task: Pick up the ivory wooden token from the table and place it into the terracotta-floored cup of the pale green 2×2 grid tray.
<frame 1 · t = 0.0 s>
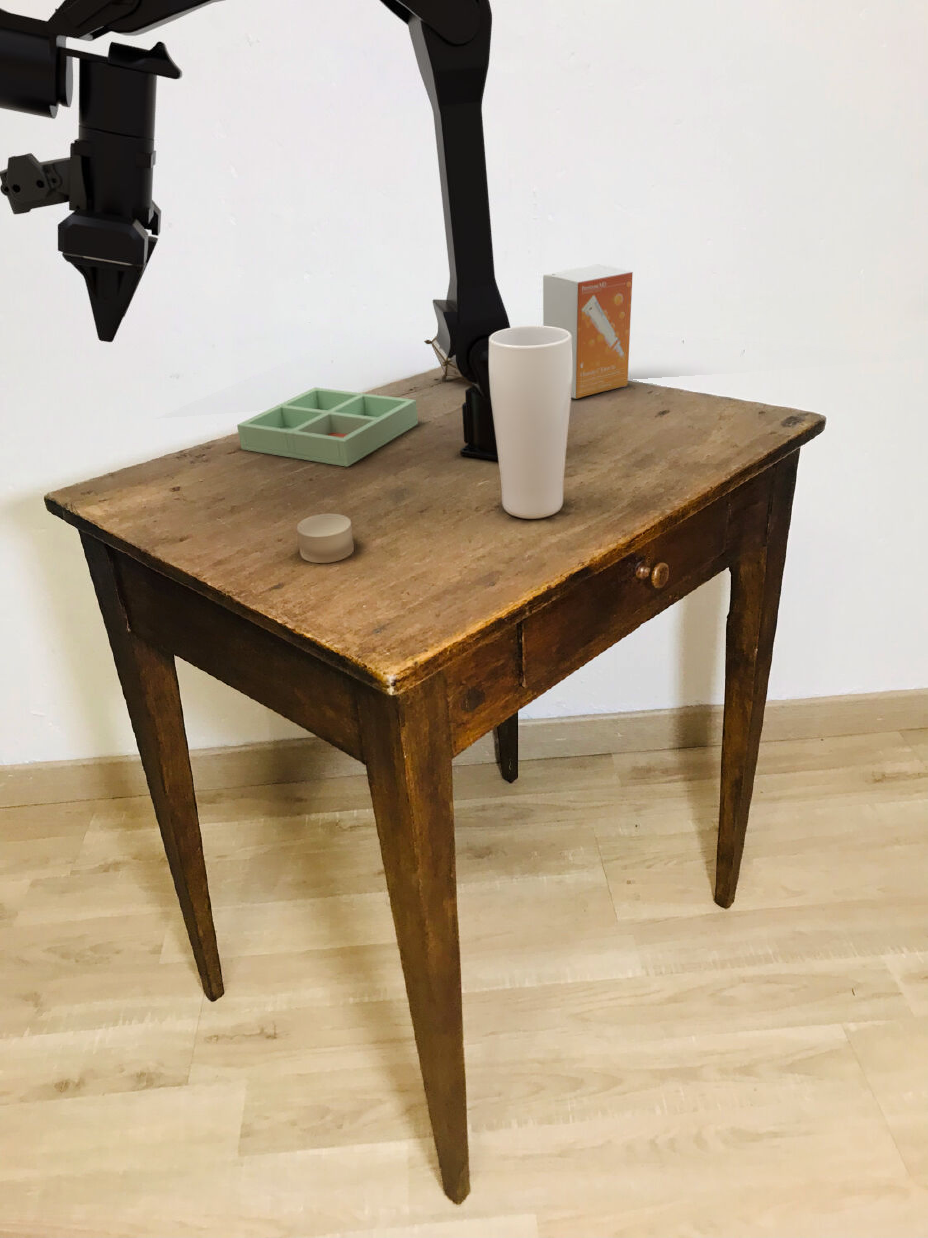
hand: (112, 328, 83), 15 cm above the table, tool pointing down, fingers open, 9 cm apart
grid: (331, 436, 102), on the table
token: (327, 551, 78), on the table
drinking glass: (532, 510, 83), on the table
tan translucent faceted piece: (466, 381, 118), on the table
small box: (585, 388, 112), on the table
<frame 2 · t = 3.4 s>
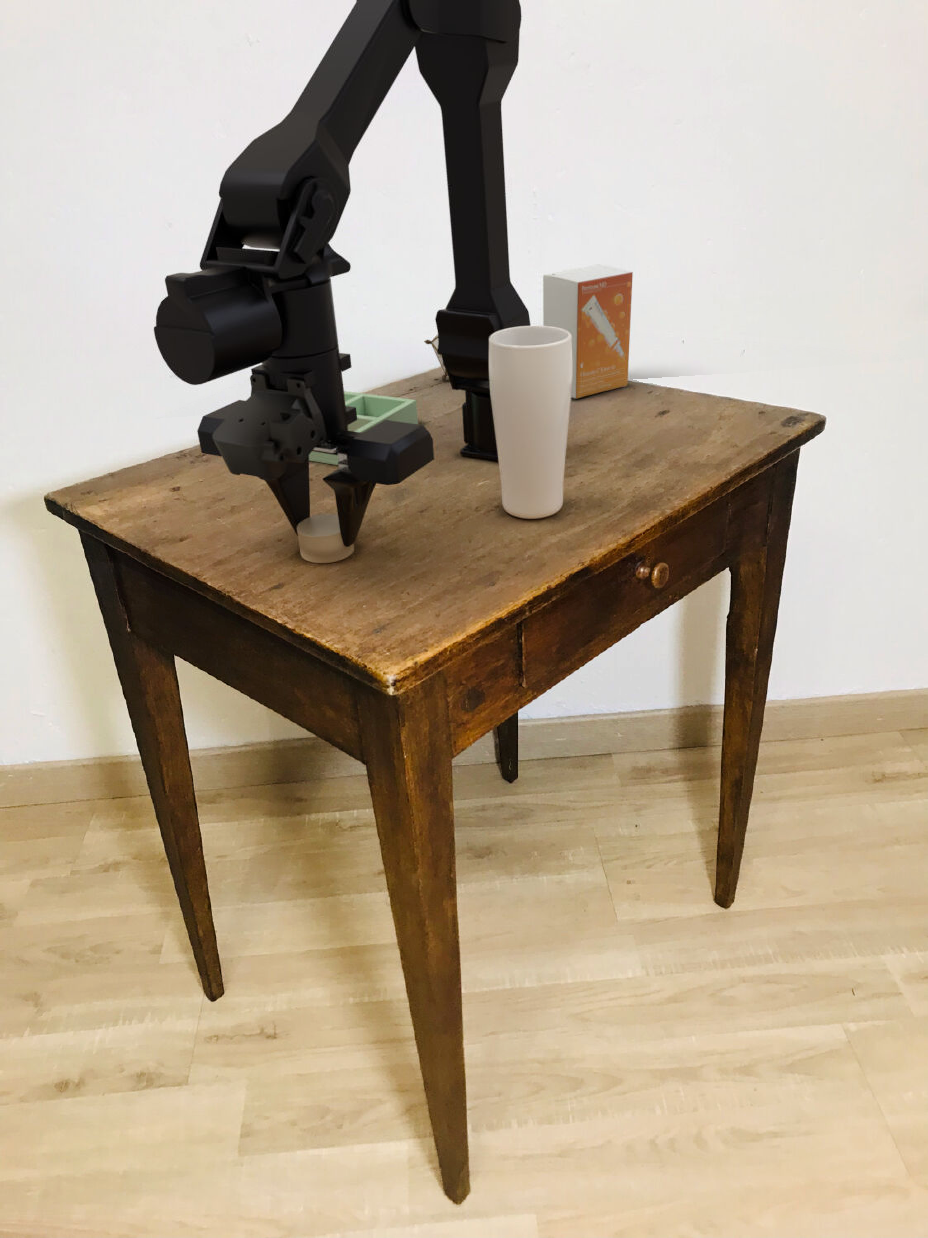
hand: (325, 539, 78), 1 cm above the table, tool pointing down, fingers closed on token, 4 cm apart
token: (327, 551, 78), on the table, touching gripper
everything else where it was.
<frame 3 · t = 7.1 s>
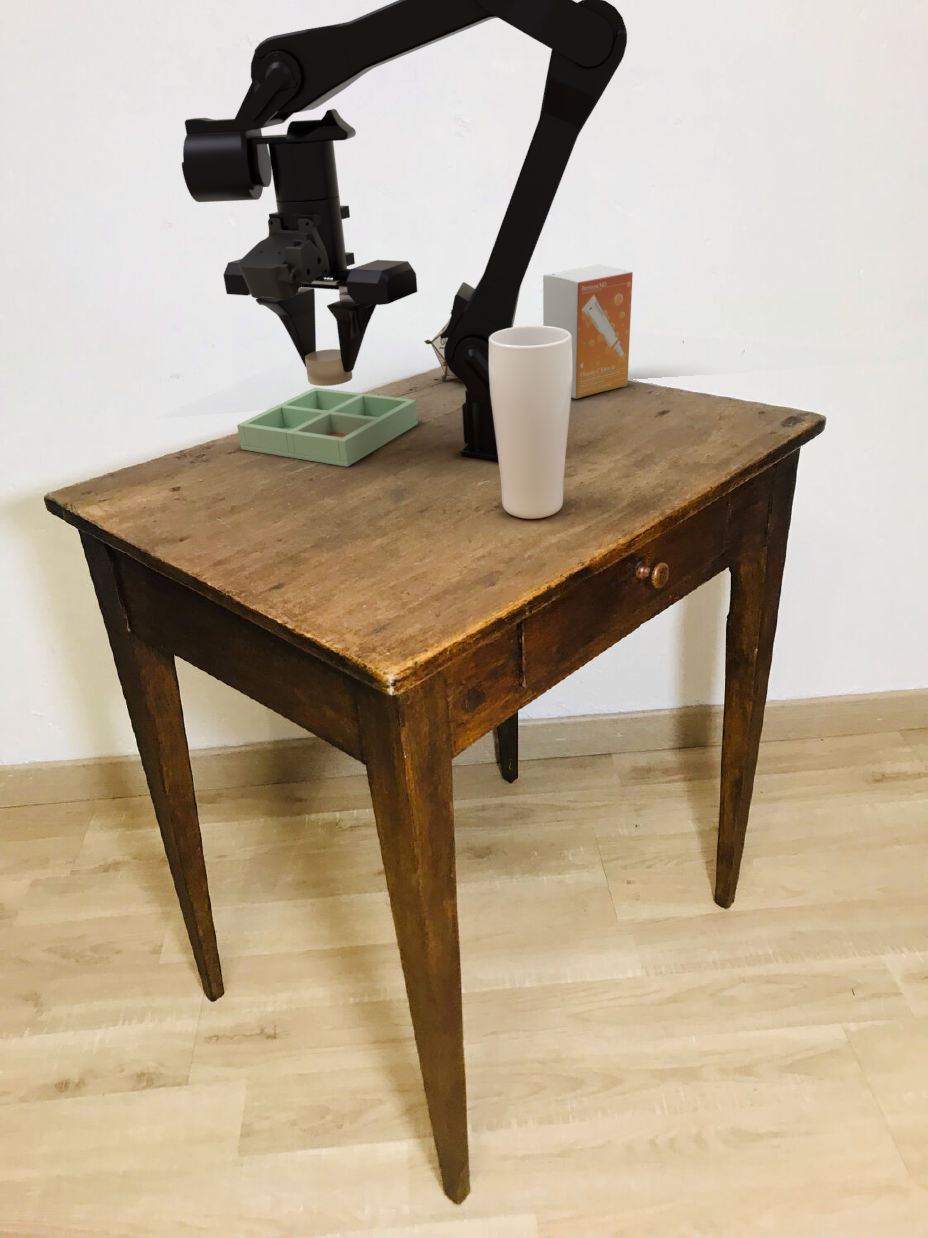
hand: (329, 369, 94), 8 cm above the table, tool pointing down, fingers closed on token, 4 cm apart
token: (330, 379, 94), point 7 cm above the table, touching gripper
everything else where it was.
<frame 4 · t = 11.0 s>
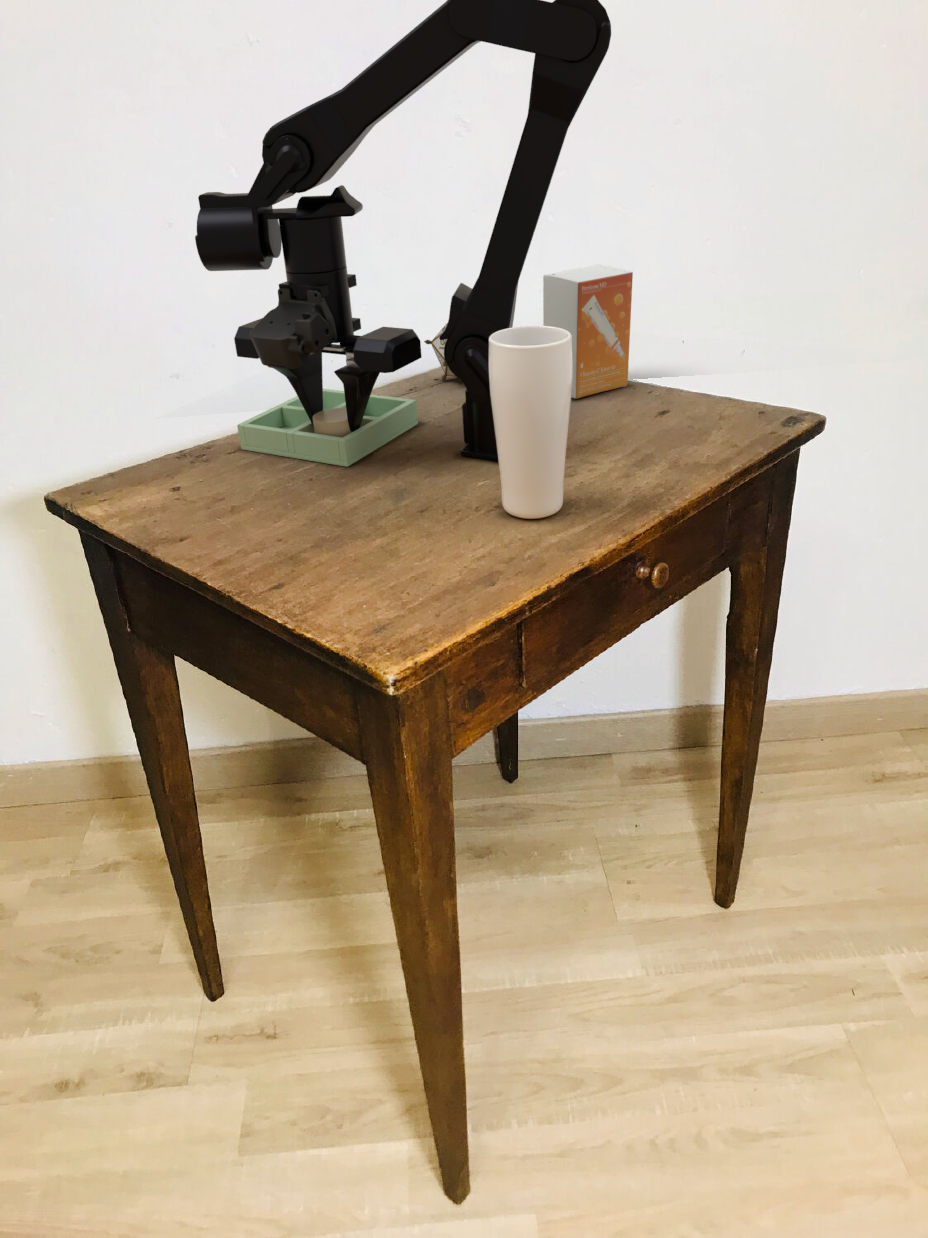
hand: (335, 427, 97), 2 cm above the table, tool pointing down, fingers closed on token, 4 cm apart
token: (336, 437, 98), point 1 cm above the table, touching gripper
everything else where it was.
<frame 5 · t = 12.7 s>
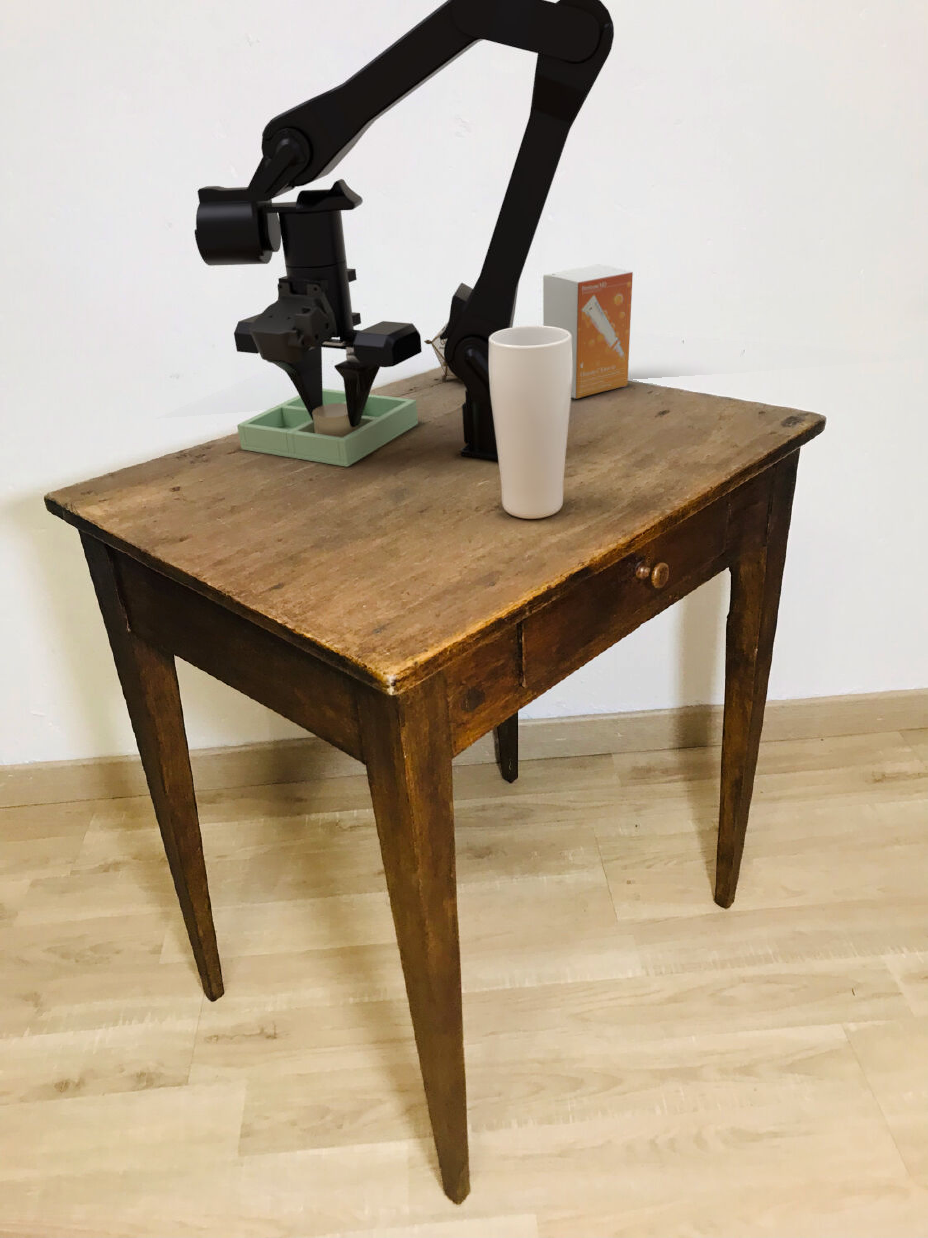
hand: (335, 423, 97), 3 cm above the table, tool pointing down, fingers closed on token, 4 cm apart
token: (336, 432, 97), point 2 cm above the table, touching gripper
everything else where it was.
when the fingers open (3 cm above the table, at t = 14.5 s): token drops 2 cm, resting on grid.
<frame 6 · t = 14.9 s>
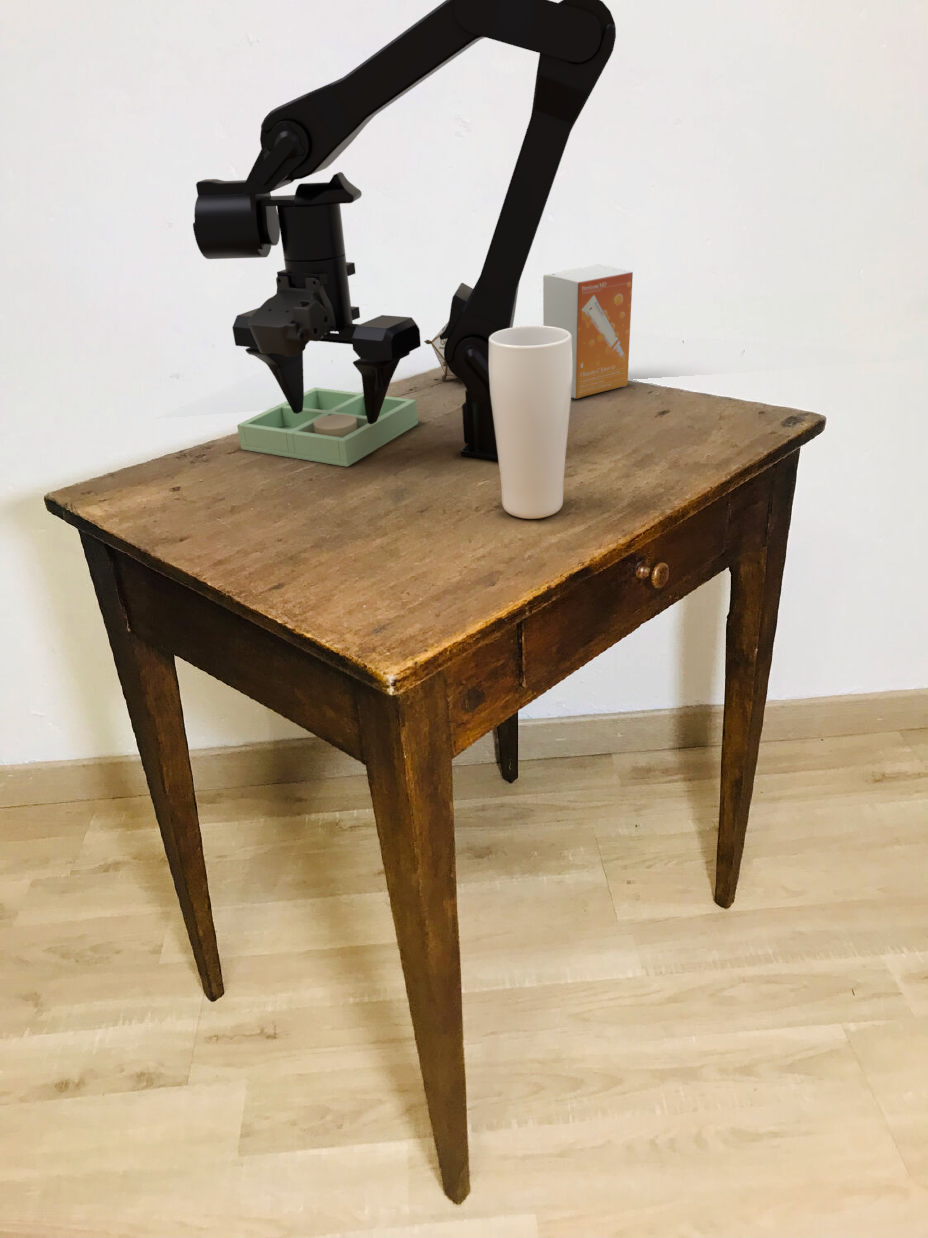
hand: (334, 417, 97), 3 cm above the table, tool pointing down, fingers open, 9 cm apart
token: (337, 443, 98), point 1 cm above the table, touching grid
everything else where it was.
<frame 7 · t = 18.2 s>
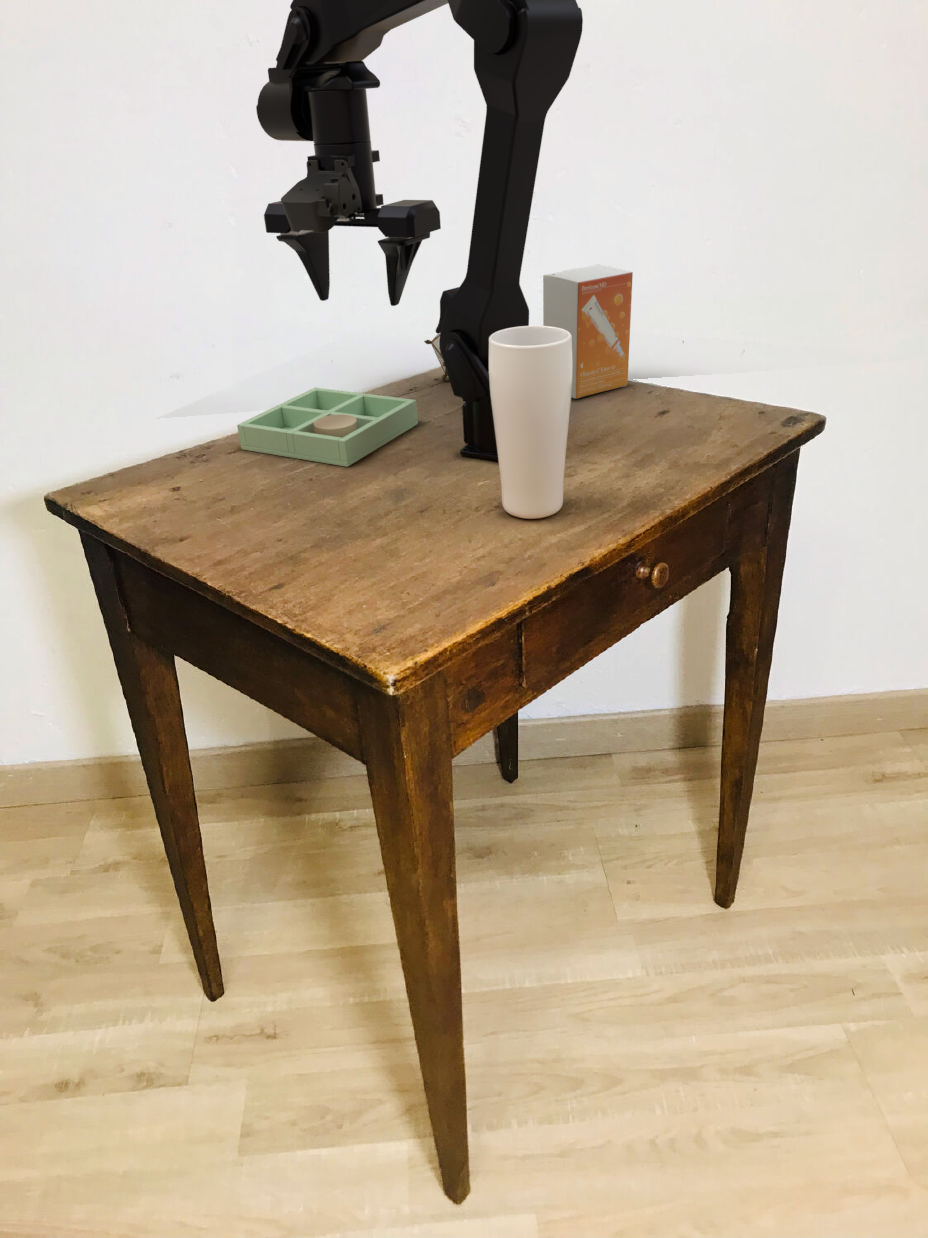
hand: (359, 302, 103), 12 cm above the table, tool pointing down, fingers open, 9 cm apart
nothing on the table moved.
at the end: token 0.0 cm from the target spot in the grid, point 0.7 cm above the grid's base; the gripper is holding nothing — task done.
